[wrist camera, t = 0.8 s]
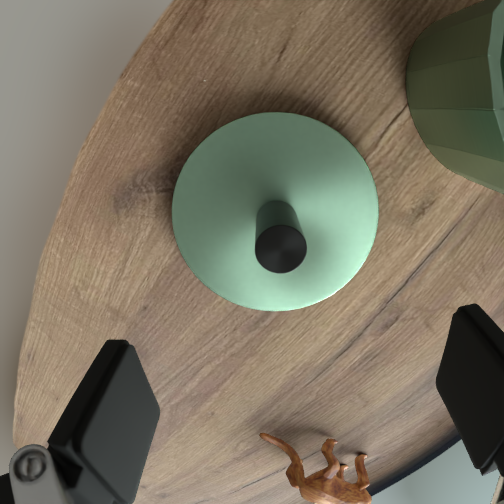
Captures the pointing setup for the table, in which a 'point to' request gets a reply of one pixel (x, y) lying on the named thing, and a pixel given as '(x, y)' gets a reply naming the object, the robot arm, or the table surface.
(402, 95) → the table surface
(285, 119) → the tin lid
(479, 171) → the tin
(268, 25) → the table surface
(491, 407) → the robot arm
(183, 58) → the table surface
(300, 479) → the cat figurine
